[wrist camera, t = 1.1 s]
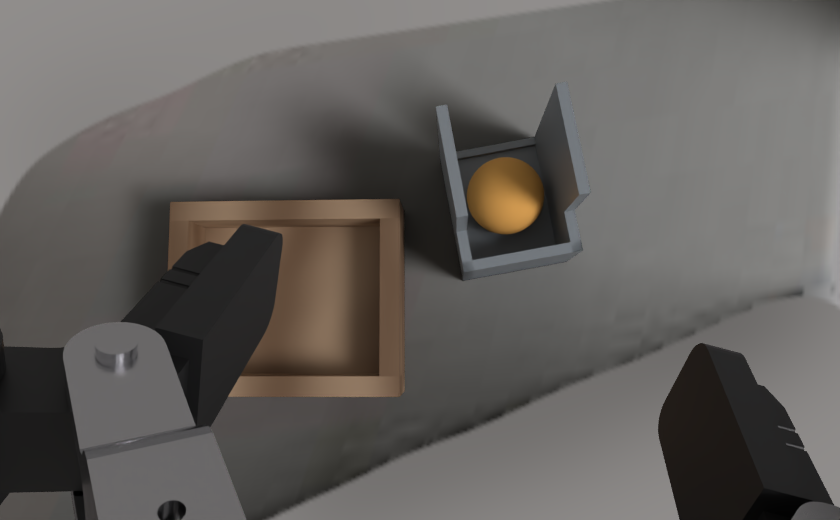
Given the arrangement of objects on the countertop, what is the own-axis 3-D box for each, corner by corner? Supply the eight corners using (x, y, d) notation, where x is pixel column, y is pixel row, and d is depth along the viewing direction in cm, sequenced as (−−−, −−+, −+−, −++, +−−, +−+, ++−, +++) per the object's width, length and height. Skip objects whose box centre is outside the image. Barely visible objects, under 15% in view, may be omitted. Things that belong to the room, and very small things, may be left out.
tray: (404, 211, 38) (399, 198, 35) (404, 391, 37) (399, 396, 34) (195, 214, 39) (170, 202, 36) (189, 391, 38) (162, 396, 34)
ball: (538, 172, 38) (546, 144, 34) (541, 242, 37) (550, 221, 33) (466, 173, 38) (466, 146, 34) (467, 243, 37) (467, 222, 33)
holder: (566, 261, 38) (600, 238, 29) (462, 280, 38) (465, 263, 29) (541, 141, 38) (567, 81, 30) (440, 159, 39) (435, 106, 30)
